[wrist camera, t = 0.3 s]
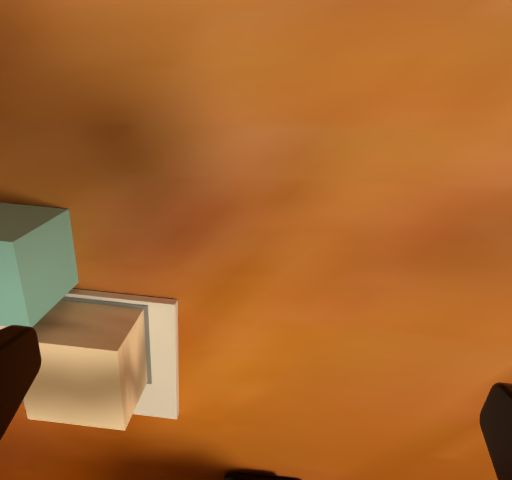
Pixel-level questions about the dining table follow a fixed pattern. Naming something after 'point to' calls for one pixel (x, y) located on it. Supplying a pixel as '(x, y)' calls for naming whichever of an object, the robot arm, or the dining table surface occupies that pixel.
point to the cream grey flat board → (149, 347)
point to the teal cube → (34, 261)
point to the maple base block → (89, 365)
